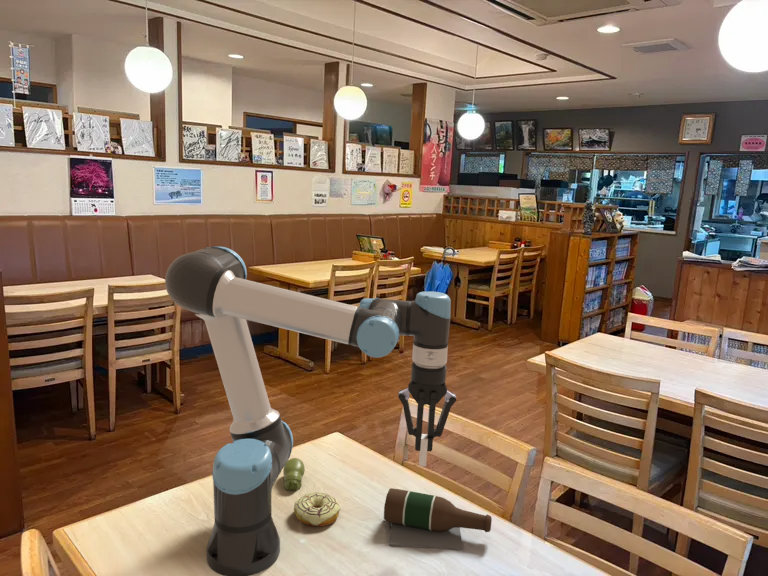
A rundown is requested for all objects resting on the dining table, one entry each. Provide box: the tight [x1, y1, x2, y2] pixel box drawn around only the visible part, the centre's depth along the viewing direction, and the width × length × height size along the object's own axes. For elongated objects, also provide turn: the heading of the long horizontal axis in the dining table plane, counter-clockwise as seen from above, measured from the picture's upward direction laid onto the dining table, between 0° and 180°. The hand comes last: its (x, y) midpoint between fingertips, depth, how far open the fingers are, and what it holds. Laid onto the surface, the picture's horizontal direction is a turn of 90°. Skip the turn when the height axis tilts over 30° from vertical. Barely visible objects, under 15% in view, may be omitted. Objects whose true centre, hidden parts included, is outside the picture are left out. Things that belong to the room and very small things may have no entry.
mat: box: [389, 523, 464, 551], centre depth 129 cm, size 16×12×1 cm
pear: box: [282, 457, 305, 491], centre depth 147 cm, size 6×5×10 cm
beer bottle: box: [383, 487, 493, 533], centre depth 128 cm, size 8×8×24 cm
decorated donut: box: [293, 492, 341, 527], centre depth 133 cm, size 10×11×4 cm
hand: (422, 463), depth 126 cm, fingers closed
